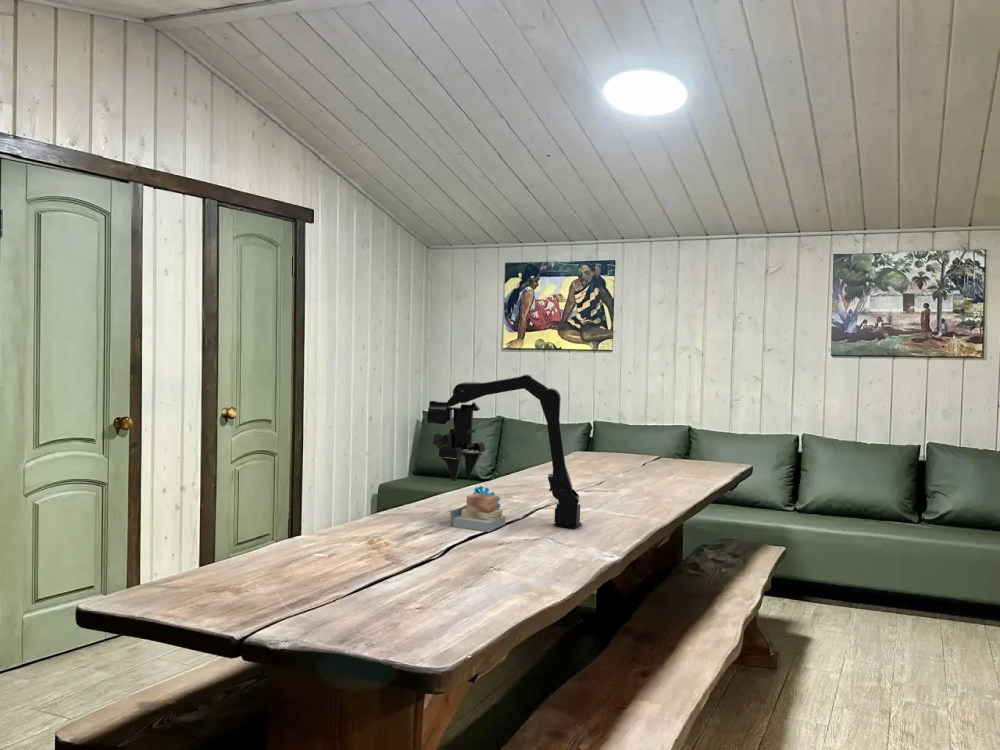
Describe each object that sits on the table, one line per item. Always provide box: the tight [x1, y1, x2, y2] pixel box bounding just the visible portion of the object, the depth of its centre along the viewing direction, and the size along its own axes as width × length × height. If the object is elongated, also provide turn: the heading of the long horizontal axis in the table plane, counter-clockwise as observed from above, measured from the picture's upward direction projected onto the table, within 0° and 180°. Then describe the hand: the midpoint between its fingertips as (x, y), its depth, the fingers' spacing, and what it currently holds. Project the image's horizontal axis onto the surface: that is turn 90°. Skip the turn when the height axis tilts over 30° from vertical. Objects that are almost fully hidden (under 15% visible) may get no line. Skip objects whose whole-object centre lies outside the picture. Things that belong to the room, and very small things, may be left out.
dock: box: [449, 504, 507, 533], centre depth 227 cm, size 12×11×4 cm
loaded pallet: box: [461, 493, 503, 521], centre depth 226 cm, size 10×6×6 cm, turn 65°
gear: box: [472, 485, 502, 510], centre depth 247 cm, size 11×6×10 cm
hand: (461, 478), depth 234 cm, fingers open, 9 cm apart
